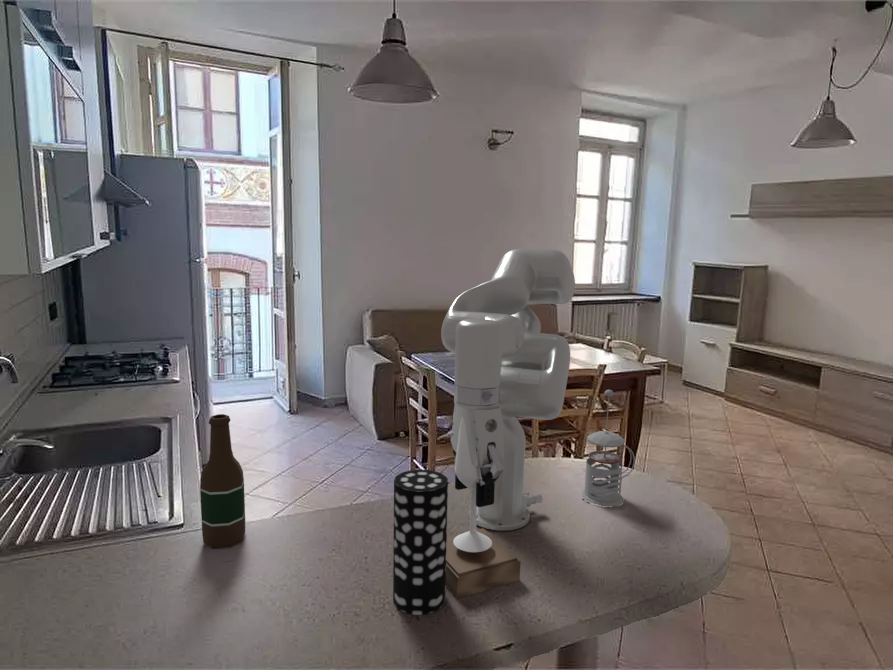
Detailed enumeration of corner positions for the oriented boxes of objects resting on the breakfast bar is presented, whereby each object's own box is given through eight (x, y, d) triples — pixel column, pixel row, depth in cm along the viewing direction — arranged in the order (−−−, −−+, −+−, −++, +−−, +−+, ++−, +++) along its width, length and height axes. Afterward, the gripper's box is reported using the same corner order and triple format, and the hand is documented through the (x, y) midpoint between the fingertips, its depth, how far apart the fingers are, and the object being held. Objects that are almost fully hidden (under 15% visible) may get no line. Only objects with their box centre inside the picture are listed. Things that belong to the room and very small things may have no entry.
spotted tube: (396, 582, 98) (397, 468, 94) (446, 584, 97) (448, 470, 94) (389, 614, 89) (390, 490, 86) (444, 616, 89) (447, 492, 86)
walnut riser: (483, 546, 110) (484, 526, 109) (519, 580, 99) (520, 558, 98) (425, 561, 104) (425, 540, 104) (457, 598, 94) (457, 575, 93)
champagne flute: (453, 552, 97) (456, 413, 94) (452, 532, 104) (454, 401, 100) (494, 552, 98) (498, 413, 94) (490, 532, 104) (494, 401, 100)
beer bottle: (232, 552, 106) (226, 424, 102) (193, 546, 107) (186, 420, 104) (254, 531, 113) (250, 411, 110) (218, 526, 115) (212, 408, 111)
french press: (573, 488, 136) (579, 384, 132) (621, 487, 137) (629, 384, 133) (588, 508, 127) (595, 395, 122) (639, 506, 128) (648, 395, 124)
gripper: (525, 405, 91) (521, 513, 94) (471, 380, 106) (468, 474, 109) (484, 411, 87) (480, 523, 90) (433, 384, 102) (431, 481, 105)
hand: (473, 495), depth 100 cm, fingers closed on champagne flute, 6 cm apart
